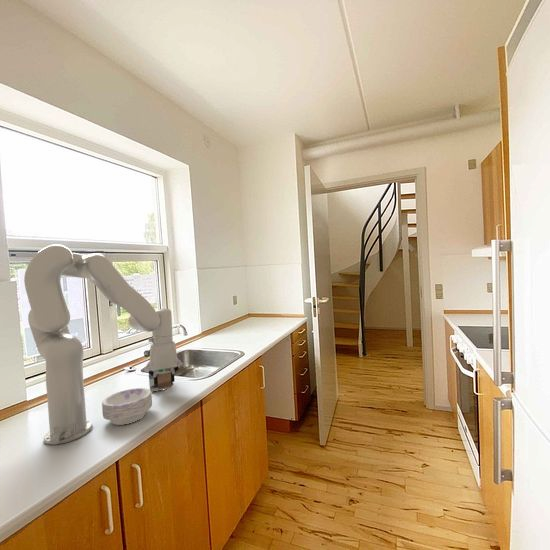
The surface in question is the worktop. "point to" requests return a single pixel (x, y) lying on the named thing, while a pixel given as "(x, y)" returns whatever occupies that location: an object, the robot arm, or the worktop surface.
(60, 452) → the worktop surface
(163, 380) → the walnut cube
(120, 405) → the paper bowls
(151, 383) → the light bulb box
